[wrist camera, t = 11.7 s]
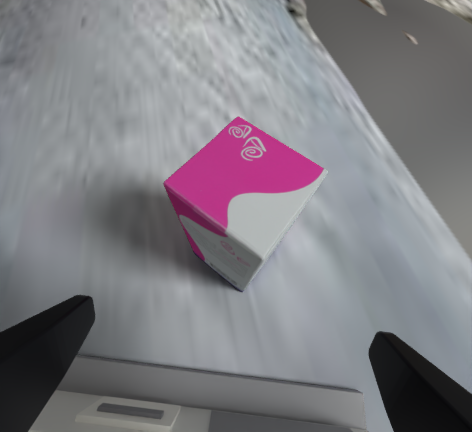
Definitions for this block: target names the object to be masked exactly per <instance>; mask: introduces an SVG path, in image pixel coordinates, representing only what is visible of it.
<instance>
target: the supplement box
mask: <svg viewBox="0 0 472 432" xmlns="http://www.w3.org/2000/svg"><path fill="white" fill-rule="evenodd" d="M327 173H328V171H327V170H326V169H324V168H322V167H320V166H319V165H317V164H316V163H314V162H312V161H311V160H309V159H307V158H306V157H304V156H303V155H301V154H299V153H298V152H296V151H294V150H293V149H291V148H289V147H288V146H286V145H284V144H283V143H281V142H279V141H278V140H276V139H275V138H273V137H271V136H270V135H268V134H266V133H265V132H263V131H262V130H260V129H258V128H257V127H255V126H253V125H252V124H250V123H248V122H247V121H245V120H244V119H242V118H240V117H237V118H235V119H234V120H233V121H232V122H231V123H229V124H228V125H227V126H226V127H225V128H224V129H223V130H222V131H221V132H220V133H219V134H218V135H217V136H216V137H215V138H214V139H212V140H211V141H210V142H209V143H208V144H207V145H206V146H205V147H204V148H202V149H201V150H200V151H199V152H198V153H197V154H196V155H194V156H193V157H192V158H191V159H190V160H189V161H188V162H186V163H185V164H184V165H183V166H182V167H181V168H179V169H178V170H177V171H176V172H175V173H174V174H172V175H171V176H170V177H169V178H168V179H167V180H166V181H164V183H163V184H164V187H165V189H166V191H167V194H168V196H169V198H170V200H171V202H172V205H173V207H174V209H175V211H176V213H177V216H178V218H179V220H180V222H181V224H182V227H183V229H184V231H185V233H186V235H187V238H188V240H189V242H190V244H191V247H192V249H193V252H194V253H195V254H196V255H197V256H198V257H199V258H200V259H202V260H203V261H204V262H205V263H206V264H207V265H209V266H210V267H211V268H212V269H213V270H215V271H216V272H217V273H218V274H219V275H221V276H222V277H223V278H224V279H225V280H227V281H228V282H229V283H230V284H232V285H233V286H234V287H236V288H237V289H238V290H239V291H241V292H243V291H244V290H245V289H246V288H247V286H248V285H249V284H250V282H251V281H252V280H253V278H254V277H255V276H256V275H257V273H258V272H259V271H260V269H261V268H262V267H263V265H264V264H265V263H266V261H267V260H268V258H269V257H270V256H271V254H272V253H273V252H274V250H275V249H276V247H277V246H278V245H279V243H280V242H281V240H282V239H283V238H284V236H285V235H286V233H287V232H288V230H289V229H290V228H291V226H292V225H293V223H294V222H295V220H296V219H297V217H298V216H299V214H300V213H301V212H302V210H303V209H304V207H305V206H306V204H307V203H308V201H309V200H310V199H311V197H312V196H313V194H314V193H315V191H316V190H317V188H318V187H319V185H320V184H321V183H322V181H323V179H324V178H325V176H326V175H327Z"/></svg>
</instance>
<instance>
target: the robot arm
mask: <svg viewBox="0 0 472 432" xmlns="http://www.w3.org/2000/svg"><path fill="white" fill-rule="evenodd" d="M94 321H95V311H94V304H93V299H92V297H90V296H85V295H76V296H74V297H72V298H70V299H68V300H66V301H63V302H61V303H59V304H57V305H55V306H53V307H51V308H49V309H47V310H45V311H43V312H41V313H39V314H37V315H35V316H33V317H31V318H29V319H27V320H25V321H23V322H21V323H19V324H17V325H15V326H13V327H10V328H8V329H6V330H4V331H2V332H0V432H28V431H29V430H30V428H31V427H32V425H33V424H34V422H35V420H36V419H37V417H38V416H39V414H40V413H41V411H42V410H43V408H44V407H45V405H46V404H47V402H48V401H49V399H50V398H51V396H52V395H53V393H54V392H55V390H56V389H57V387H58V386H59V384H60V383H61V381H62V379H63V378H64V376H65V375H66V373H67V371H68V369H69V368H70V366H71V364H72V362H73V360H74V359H75V357H76V355H77V353H78V351H79V349H80V348H81V346H82V344H83V342H84V340H85V338H86V336H87V335H88V333H89V331H90V329H91V327H92V325H93V323H94ZM369 359H370V362H371V365H372V369H373V372H374V375H375V378H376V381H377V385H378V388H379V391H380V394H381V397H382V400H383V404H384V407H385V410H386V412H387V415H388V418H389V420H390V423H391V426H392V428H393V431H394V432H472V394H471V393H470V392H468V391H467V390H466V389H464V388H463V387H462V386H460V385H459V384H458V383H457V382H455V381H454V380H453V379H451V378H450V377H449V376H448V375H446V374H445V373H444V372H442V371H441V370H440V369H438V368H437V367H436V366H435V365H433V364H432V363H431V362H429V361H428V360H427V359H426V358H424V357H423V356H422V355H420V354H419V353H418V352H417V351H415V350H414V349H413V348H411V347H410V346H409V345H407V344H406V343H405V342H404V341H402V340H401V339H400V338H398V337H397V336H396V335H394V334H393V333H390V332H382V331H379V332H377V333H376V334H375V337H374V339H373V341H372V343H371V346H370V348H369Z"/></svg>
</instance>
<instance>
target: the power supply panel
mask: <svg viewBox="0 0 472 432" xmlns="http://www.w3.org/2000/svg"><path fill="white" fill-rule="evenodd" d="M28 432H368V431H367V430H366V419H365V407H364V396H363V393H361V392H360V391H358V390H351V389H343V388H336V387H328V386H320V385H312V384H304V383H296V382H288V381H280V380H272V379H264V378H257V377H249V376H241V375H233V374H225V373H217V372H209V371H201V370H193V369H185V368H178V367H170V366H162V365H154V364H146V363H138V362H130V361H122V360H114V359H106V358H99V357H91V356H83V355H76V357H75V359H74V360H73V362H72V364H71V366H70V368H69V369H68V371H67V373H66V375H65V376H64V378H63V379H62V381H61V383H60V384H59V386H58V387H57V389H56V390H55V392H54V393H53V395H52V396H51V398H50V399H49V401H48V402H47V404H46V405H45V407H44V408H43V410H42V411H41V413H40V414H39V416H38V417H37V419H36V420H35V422H34V424H33V425H32V427H31V428H30V430H29V431H28Z"/></svg>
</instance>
